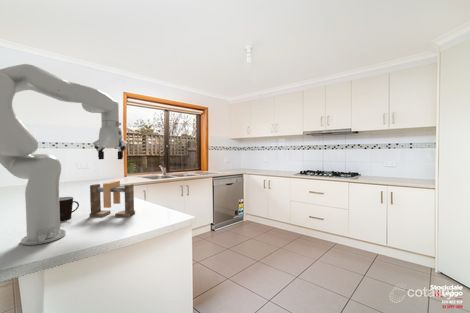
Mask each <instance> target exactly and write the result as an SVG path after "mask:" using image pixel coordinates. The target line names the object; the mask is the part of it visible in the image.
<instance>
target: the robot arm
mask: <svg viewBox="0 0 470 313" xmlns="http://www.w3.org/2000/svg"><path fill="white" fill-rule="evenodd" d="M23 91H33V92H35V93H39V94H42V95H44V96H47V97H49V98H52V99H55V100H57V101H59V102H65V103H74V104H75V103H76V104H81V107H82V109H84V110H85V111H86V112H87V113H92V114H100V115H101V116H100V118H101V123H100V124H101V126H100V128H99V133H98V139H96V140H95V141H93V142H92V144H93V147H94V149H95V150H96V151H97V154H98V155H97V158H98V160H104V159H105V151H104V150H105V149H108V148H109V149H111V148H112V149H113V148H114V149H115V148H116V149H117V150H118V151H117V160H123V158H124V151H125V150H126V149H127V146H128V145H129V142H127V141H125V140H124V139H123V133H122V128H121V127H120V126H121V125H122V122H120V121H119V118H120V117H119V112H120V111H119V102H118V101H117V100H114V99H113V97H111V96H110V95H108V94H107V93H105V92H103V91H101V90H99V89H97V88H94V87H90V86H86V85H83V84H80V83H76V82H72V81H69V80H66V79H64V78H62V77H60V76H58V75H55V74H53V73H51V72H49V71H47V70H44V69H42V68H41V67H38V66H36V65H33V64H28V63H22V64H21V63H20V64H17V65H13V66H8V67H4V68H0V165H2V167H3V168H5V169H6V170H7V171H8V172H9V174H11V175H12V176H14V177H16V178H18V179H21V180H22V179H23V180H27V183H26V185H25V191H24V195H25V196H24V197H25V200H24V201H25V218H26V219H25V220H26V235H25V236H24V237H23V238H21V240H20V243H21V244H22V245H23V246H24V245H25V246H36V245H42V244H47V243H52V242H54V241H57V240H60V239H61V238H63V237H64V236H65V235H66V230H65V229H61V221H60V206H59V197H60V179H61V175H62V164H61V161H60V160H59V159H58V158H57V157H55V156H54V155H50V154H48V153H47V154H45V153H44V154H43V153H36V152H37V150H38V148H39V143H38V140H37V138H35V136H34V135H33V134H32V133H31V131H30V130H29V129H28V128H27V127H26V125H24V123H23V122H22V121H21V120H20V118H19V117H18V115H17V113H15V111H14V108H13V100H14V97H15V96H16V94H17V93H19V92H23Z"/></svg>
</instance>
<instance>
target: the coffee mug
mask: <svg viewBox="0 0 470 313" xmlns="http://www.w3.org/2000/svg"><path fill="white" fill-rule="evenodd" d="M74 203H76V208H75V209H73V206H74ZM59 206H60V222H65V221H70V220H71V219H72V213H74V212H76V211H77V210H78V209H79V207H80V204H79V202H78V201H76V200H74V197H73V196H61V197H60V196H59Z"/></svg>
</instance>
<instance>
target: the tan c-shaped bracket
mask: <svg viewBox="0 0 470 313" xmlns="http://www.w3.org/2000/svg"><path fill="white" fill-rule="evenodd" d="M102 187H103V192H102V195H103V197H102V199H103V200H102V201H103V202H102V203H103V208H104V209H105V208H106V209H108V208H109V209H110V208H112V202H113V204H114V205H115V204H116V205H119V204H121V192H111V189H112V188H115V187H121V181H120V180H112V181H108V182H103V183H102ZM112 194H113V195H112ZM111 196H113V197H111ZM112 198H113V199H112ZM112 200H113V201H112Z"/></svg>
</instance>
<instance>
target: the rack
mask: <svg viewBox="0 0 470 313" xmlns="http://www.w3.org/2000/svg"><path fill="white" fill-rule="evenodd" d="M113 192H120V193H124V210H119V211H118V212H116V213H115V214H114V217H115V218H130V217H131V216H134V215H135V214H136V210H135V192H134V183H128V184H124V186H123V187H121V186H120V187H115V188H112V189H111V193H113ZM101 193H103V186H101V184H99V183H95V184H90V185H89V195H90V196H89V197H90V199H89V201H90V203H89V204H90V213H89V216H88V217H90V218H91V217H92V218H93V217H94V218H104V217H106V216H108V215H110V214H111V210H108V209H107V210H101V208H102V206H101V204H102V203H101Z"/></svg>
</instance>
